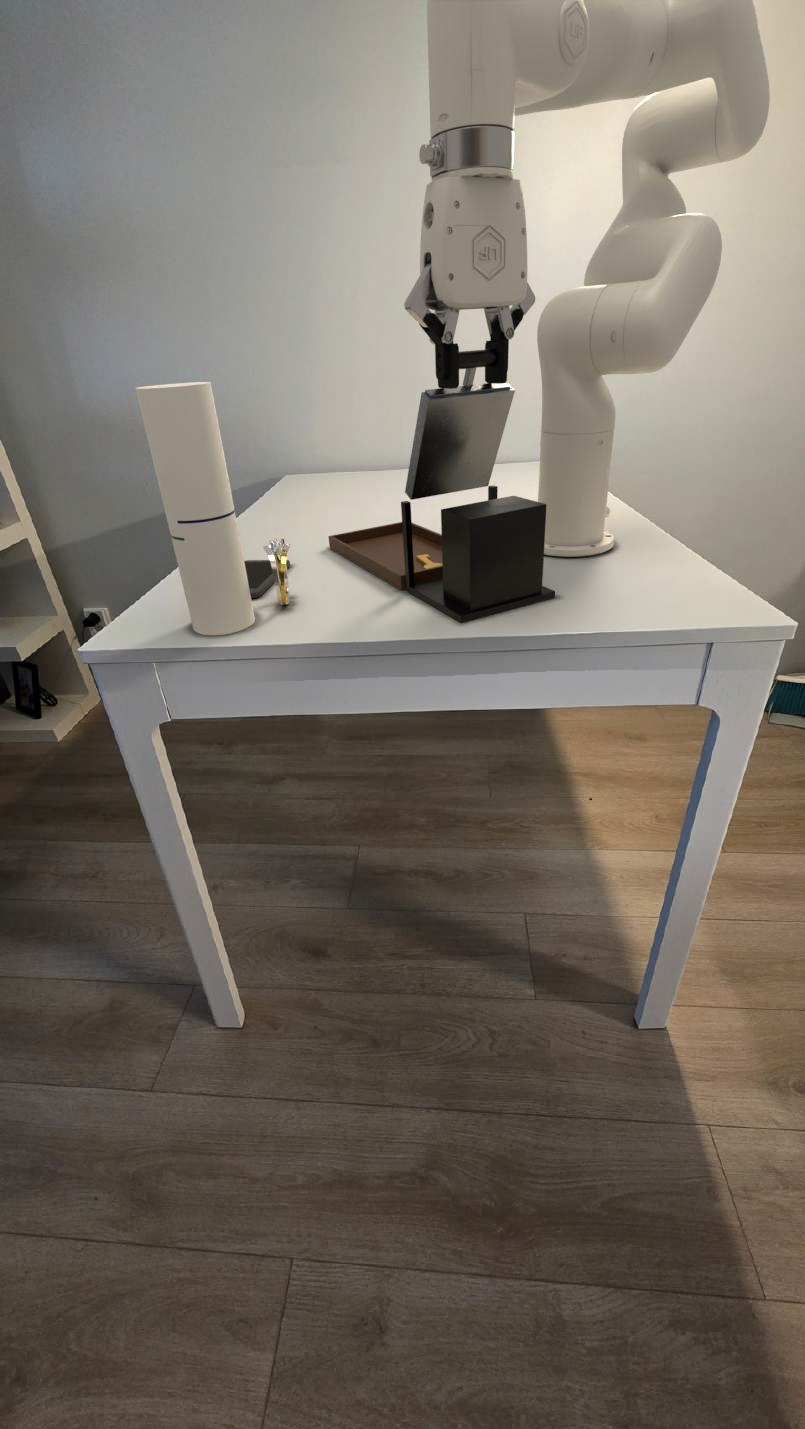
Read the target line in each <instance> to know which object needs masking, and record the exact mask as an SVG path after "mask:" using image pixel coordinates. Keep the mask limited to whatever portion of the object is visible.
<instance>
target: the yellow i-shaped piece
mask: <svg viewBox="0 0 805 1429" xmlns="http://www.w3.org/2000/svg"><path fill="white" fill-rule="evenodd" d="M416 559H418V560H419V561H420V562H422V563H423V564H424V569H427V568H432V567H436V566H441V565H442V564H441V563H433V562H432V561H430V560H429V559H430V556H429V555H428V554H425V555H419V556H416Z"/></svg>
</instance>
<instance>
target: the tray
mask: <svg viewBox="0 0 805 1429" xmlns="http://www.w3.org/2000/svg"><path fill="white" fill-rule="evenodd" d="M327 537H328V544H329V549H330V550H332V551H334V552H335V553H337V554H339V555H340V556H342V557H344V558H346V559H347V560H349V561H351V562H352V563H354V564H356V565H358V566H359V567H361V568H362V569H365V571H368V572H370V573H371V574H372V575H374V576H376V577H378V578H380V579H381V580H383V581H385V582H386V583H388V584H390V585H392V586H393V587H395V588H396V589H398V590H400V591H404V590H405V591H406V580H405V563H404V546H403V529H402V521H399V522H394V523H388V524H384V525H379V526H374V527H368V528H363V529H357V530H353V531H348V532H342V533H338V534H333V535H328V536H327ZM412 541H413V560H414V579H415V584H416V583H420V582H424V581H428V580H433V579H437V578H441V577H443V566H442V565H441V566H436V567H432V568H427V569H424V564H423V563H422V562H420V561H419V560H418V559H416V556H419V555H425V554H428V555H429V556H430V559H429V560H430V561H432V562H433V563H441V564H442V533H439V532H437V531H434V530H431V529H429V528H427V527H424V526H422V525H420V524H417V523H414V522H412Z"/></svg>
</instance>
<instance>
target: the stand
mask: <svg viewBox="0 0 805 1429" xmlns="http://www.w3.org/2000/svg"><path fill="white" fill-rule="evenodd" d="M498 488H499V486H497V485H493V484H492V485H488V486H487V489H488V490H487V500H484V501H478V502H473V503H467V504H462V505H457V506H452V507H446V508H441V509H440V525H441V526H440V528H441V535H442V566H443V577H441V578H437V579H433V580H428V581H424V582H420V583H416V584H415V579H414V560H413V541H412V523H413V522H412V521H413V520H412V505H411V501H408V500H404V501H400V510H401V522H402V529H403V546H404V563H405V580H406V589H405V591H406V592H408V593H409V594H411V595H413V596H414V597H416V598H418V599H420V600H421V601H422V602H425V603H427V604H428V605H430V606H432V607H433V608H435V609H437V610H439V611H440V612H442V613H443V614H445V615H447V616H449V617H450V618H452V619H454V620H456V621H458V622H459V623H461V624H462V623H466V622H469V621H473V620H477V619H480V618H485V617H488V616H491V615H495V614H498V613H503V612H506V611H511V610H514V609H517V608H521V607H524V606H529V605H532V604H535V603H539V602H543V601H547V600H551V599H554V598H556V590H554V589H551V588H549V587H546V586H544V585H543V579H544V561H545V560H544V558H545V554H544V543H545V524H546V504H544V503H540V502H538V501H536V500H532V499H529V498H524V497H522V496H521V497H520V496H517V495H509V496H505V497H499V498H498V494H499V492H498V490H499V489H498Z"/></svg>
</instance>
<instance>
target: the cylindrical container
mask: <svg viewBox="0 0 805 1429" xmlns="http://www.w3.org/2000/svg"><path fill="white" fill-rule="evenodd" d="M135 394H136V397H137V401H138V406H139V409H140V410H139V411H140V414H141V419H142V422H143V426H144V430H145V431H144V432H145V434H146V439H147V443H148V447H149V451H150V455H151V459H152V463H153V468H154V471H155V477H156V480H157V484H158V488H159V492H160V496H161V502H162V504H163V509H164V514H165V517H166V521H167V526H168V529H169V533H170V538H171V542H172V546H173V551H174V555H175V559H176V562H177V568H178V572H179V576H180V579H181V584H182V588H183V591H184V596H185V600H186V604H187V609H188V613H189V617H190V621H191V625H192V630H193V631H194V632H195V633H197V634H198V635H203V636H224V635H230V634H235V633H238V632H240V631H243V630H246V629H248V628H249V627H251V626H252V625H253V624H255V621H256V617H255V612H254V606H253V601H252V597H251V595H250V590H249V584H248V579H247V573H246V568H245V563H244V561H245V558H244V553H243V547H242V543H241V537H240V531H239V526H238V521H237V515H236V511H235V505H234V500H233V499H234V498H233V494H232V488H231V483H230V478H229V473H228V466H227V461H226V456H225V451H224V446H223V439H222V435H221V430H220V429H221V428H220V424H219V418H218V413H217V409H216V404H215V398H214V393H213V388H212V382H211V381H193V382H192V381H191V382H179V383H178V382H176V383H166V384H155V385H145V386H139V387H135Z"/></svg>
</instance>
